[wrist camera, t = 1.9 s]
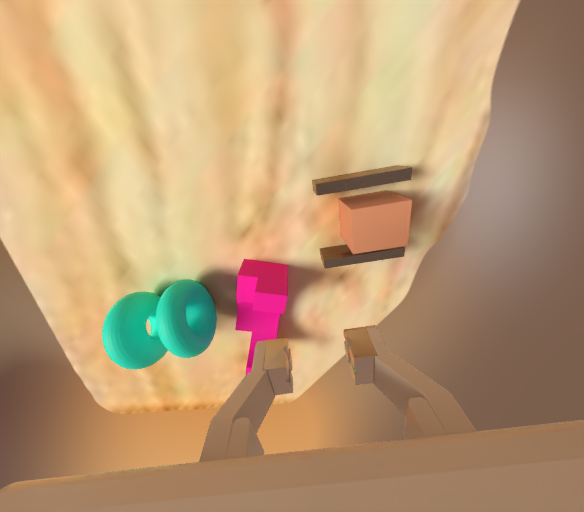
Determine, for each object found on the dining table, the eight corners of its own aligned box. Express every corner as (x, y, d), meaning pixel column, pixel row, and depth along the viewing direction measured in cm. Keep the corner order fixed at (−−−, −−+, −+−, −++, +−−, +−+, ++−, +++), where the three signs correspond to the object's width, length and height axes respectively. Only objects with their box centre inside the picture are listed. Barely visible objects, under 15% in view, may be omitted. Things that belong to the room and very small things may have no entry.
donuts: (226, 315, 34) (204, 372, 25) (171, 328, 35) (131, 388, 26) (197, 264, 30) (159, 311, 21) (136, 281, 31) (74, 333, 22)
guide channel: (312, 180, 25) (315, 184, 22) (395, 165, 25) (411, 167, 21) (320, 256, 30) (324, 268, 26) (391, 245, 29) (404, 256, 26)
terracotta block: (338, 198, 26) (351, 209, 21) (386, 190, 26) (412, 199, 20) (340, 235, 28) (353, 254, 23) (384, 228, 28) (407, 245, 23)
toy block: (244, 258, 30) (232, 289, 23) (287, 264, 30) (287, 295, 24) (238, 334, 36) (227, 375, 30) (274, 337, 37) (271, 378, 30)
